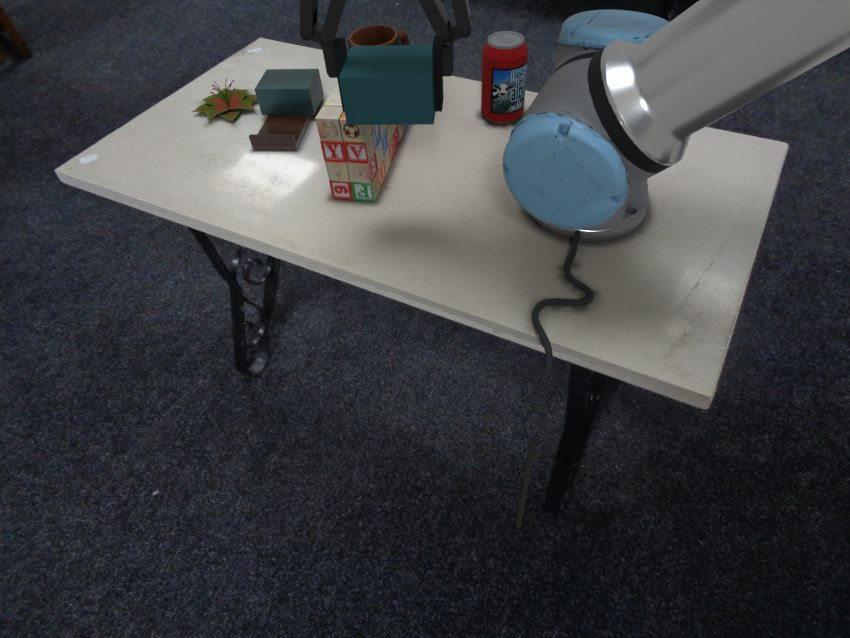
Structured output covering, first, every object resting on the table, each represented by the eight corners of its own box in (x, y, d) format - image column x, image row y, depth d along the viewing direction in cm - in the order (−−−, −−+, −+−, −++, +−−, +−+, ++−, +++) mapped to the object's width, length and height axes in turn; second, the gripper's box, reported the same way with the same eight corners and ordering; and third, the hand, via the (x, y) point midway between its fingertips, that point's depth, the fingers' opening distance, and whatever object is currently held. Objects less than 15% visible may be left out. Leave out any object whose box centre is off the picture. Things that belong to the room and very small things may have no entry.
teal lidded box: (302, 151, 86) (294, 117, 82) (247, 150, 87) (236, 118, 83) (326, 97, 97) (320, 65, 93) (276, 97, 98) (268, 66, 94)
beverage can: (501, 131, 86) (505, 52, 77) (472, 115, 90) (472, 38, 81) (532, 115, 89) (539, 38, 80) (502, 100, 93) (506, 25, 84)
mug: (431, 93, 95) (426, 22, 86) (384, 126, 89) (375, 54, 80) (393, 80, 99) (385, 10, 90) (346, 111, 93) (333, 40, 84)
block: (433, 124, 56) (431, 76, 53) (346, 125, 57) (338, 77, 53) (438, 91, 61) (436, 44, 57) (357, 91, 62) (350, 45, 58)
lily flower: (224, 86, 102) (215, 61, 98) (277, 97, 98) (270, 71, 95) (179, 118, 95) (168, 92, 92) (235, 131, 91) (226, 104, 88)
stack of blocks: (371, 120, 91) (360, 42, 82) (408, 122, 90) (402, 43, 81) (332, 199, 77) (313, 116, 68) (375, 202, 76) (363, 119, 67)
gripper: (510, -193, 43) (496, 87, 60) (242, -178, 45) (301, 89, 62) (512, -176, 39) (496, 123, 55) (211, -161, 41) (285, 124, 57)
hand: (393, 105), depth 59 cm, fingers closed on block, 9 cm apart
